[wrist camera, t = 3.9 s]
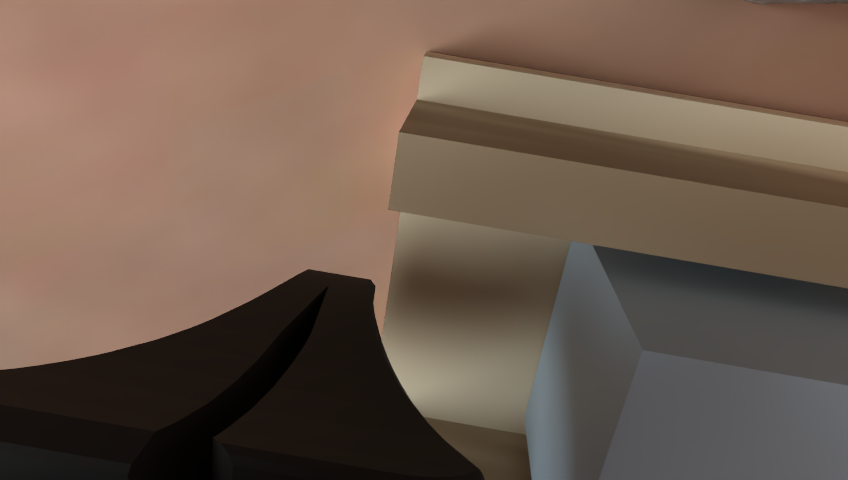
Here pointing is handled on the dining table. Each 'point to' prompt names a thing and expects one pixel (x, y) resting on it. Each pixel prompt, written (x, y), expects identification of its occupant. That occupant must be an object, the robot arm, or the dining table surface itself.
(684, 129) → the chute
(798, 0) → the coffee box
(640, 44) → the dining table surface
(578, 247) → the block
